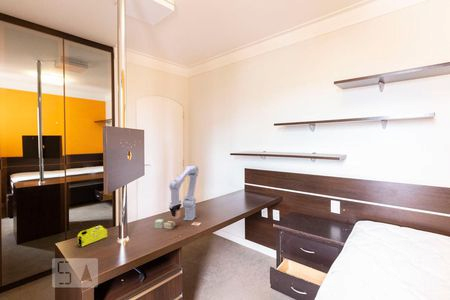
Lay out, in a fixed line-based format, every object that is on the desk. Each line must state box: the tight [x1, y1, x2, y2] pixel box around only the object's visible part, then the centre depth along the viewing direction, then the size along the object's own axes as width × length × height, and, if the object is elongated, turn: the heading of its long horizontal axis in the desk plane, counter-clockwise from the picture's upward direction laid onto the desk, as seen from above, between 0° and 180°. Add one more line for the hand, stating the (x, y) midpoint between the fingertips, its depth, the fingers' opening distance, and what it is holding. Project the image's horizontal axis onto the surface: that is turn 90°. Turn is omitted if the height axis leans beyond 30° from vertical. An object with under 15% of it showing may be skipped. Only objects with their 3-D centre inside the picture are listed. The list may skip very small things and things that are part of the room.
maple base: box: [163, 220, 176, 230], centre depth 165 cm, size 6×6×4 cm
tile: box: [191, 221, 201, 227], centre depth 170 cm, size 5×6×1 cm
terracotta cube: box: [170, 209, 181, 220], centre depth 165 cm, size 5×5×5 cm
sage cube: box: [154, 218, 165, 229], centre depth 165 cm, size 5×5×5 cm
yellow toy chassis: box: [77, 225, 108, 247], centre depth 142 cm, size 16×6×8 cm, turn 150°
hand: (175, 215), depth 165 cm, fingers closed on terracotta cube, 5 cm apart
